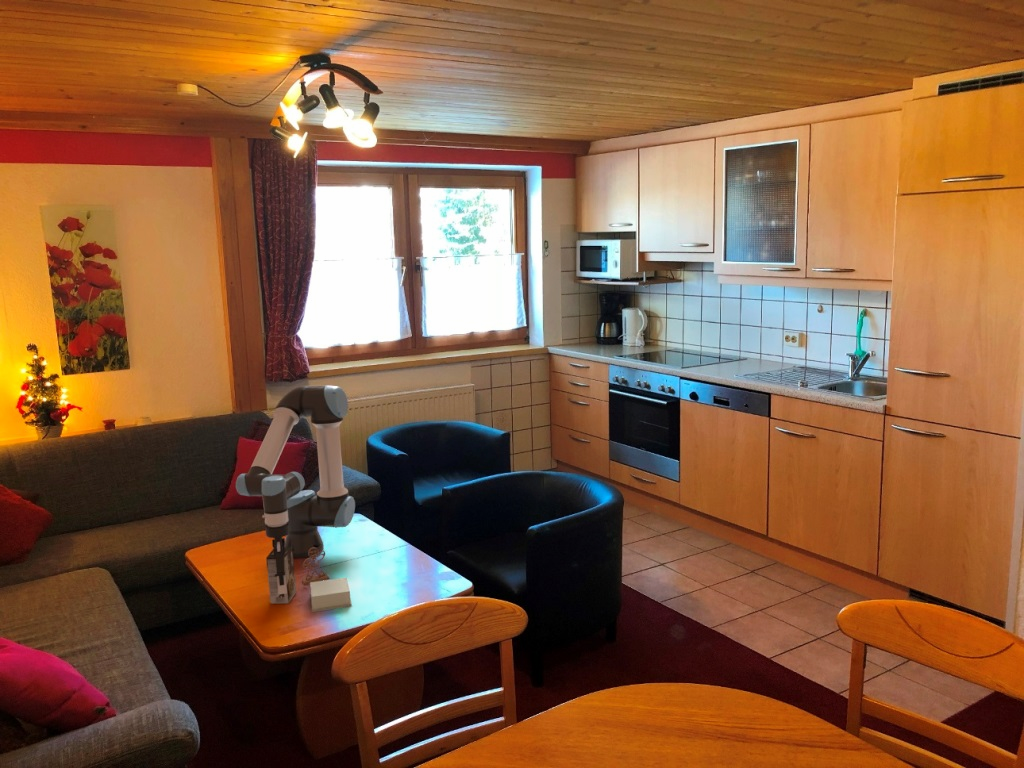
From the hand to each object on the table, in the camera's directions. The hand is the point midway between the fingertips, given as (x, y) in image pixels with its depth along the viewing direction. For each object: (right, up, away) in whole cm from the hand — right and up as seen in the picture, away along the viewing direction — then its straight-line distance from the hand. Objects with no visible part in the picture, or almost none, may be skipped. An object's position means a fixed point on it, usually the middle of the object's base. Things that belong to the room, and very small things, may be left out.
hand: (282, 587), depth 272 cm
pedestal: (+17, -4, -3) cm, 17 cm away
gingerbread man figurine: (+7, -2, +15) cm, 17 cm away
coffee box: (0, -4, +1) cm, 4 cm away
